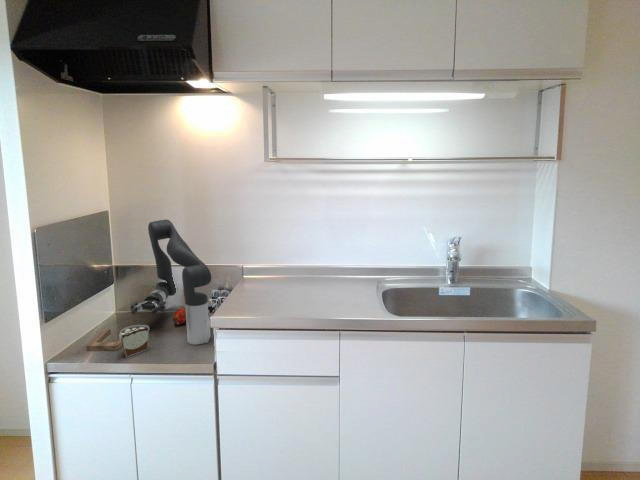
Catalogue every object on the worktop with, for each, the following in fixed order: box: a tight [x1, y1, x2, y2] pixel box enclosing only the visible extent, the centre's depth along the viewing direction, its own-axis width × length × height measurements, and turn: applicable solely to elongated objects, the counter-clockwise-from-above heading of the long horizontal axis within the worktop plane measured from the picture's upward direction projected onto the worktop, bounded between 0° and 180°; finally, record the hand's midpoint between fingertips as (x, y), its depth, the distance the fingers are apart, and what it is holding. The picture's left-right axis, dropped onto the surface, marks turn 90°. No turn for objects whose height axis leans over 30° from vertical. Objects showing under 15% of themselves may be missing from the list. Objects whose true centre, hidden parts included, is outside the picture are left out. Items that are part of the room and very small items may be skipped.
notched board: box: [85, 328, 123, 352], centre depth 189 cm, size 12×18×2 cm
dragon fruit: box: [172, 306, 186, 326], centre depth 209 cm, size 8×8×12 cm
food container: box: [118, 324, 151, 358], centre depth 179 cm, size 12×6×10 cm, turn 141°
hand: (143, 312), depth 191 cm, fingers open, 8 cm apart
